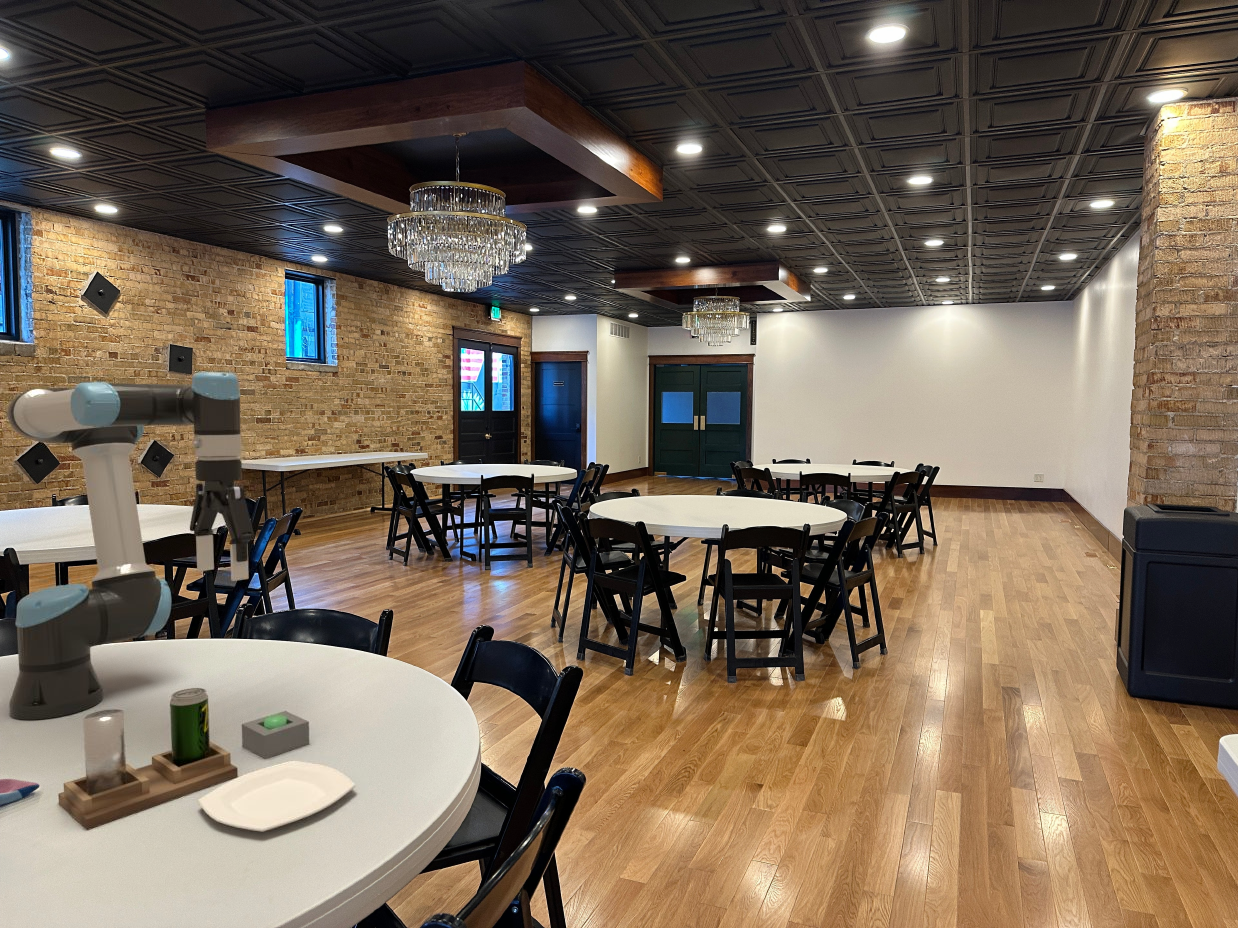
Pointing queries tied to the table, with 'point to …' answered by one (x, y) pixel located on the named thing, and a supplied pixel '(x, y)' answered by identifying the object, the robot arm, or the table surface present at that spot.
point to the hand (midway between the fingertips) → (222, 574)
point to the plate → (276, 795)
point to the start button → (275, 721)
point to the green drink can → (189, 726)
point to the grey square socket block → (275, 736)
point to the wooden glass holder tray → (146, 787)
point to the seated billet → (104, 750)
